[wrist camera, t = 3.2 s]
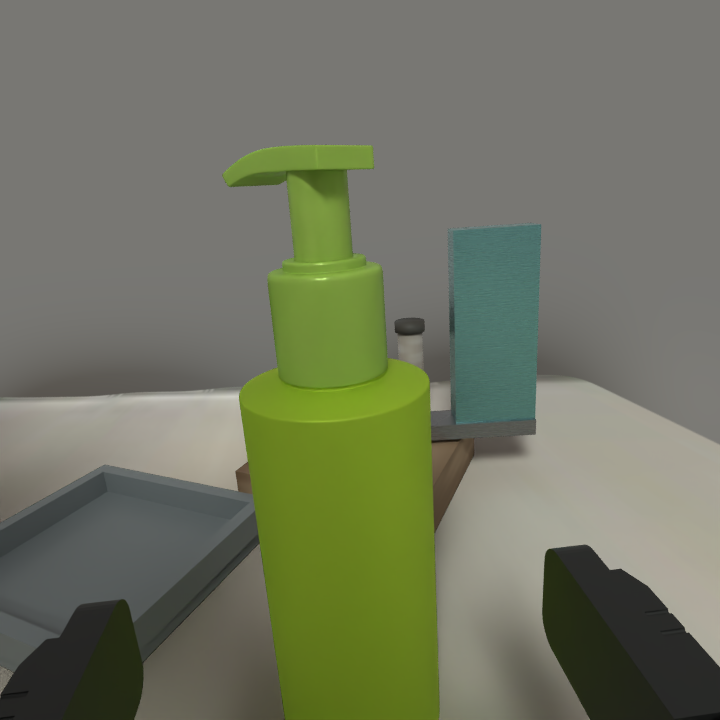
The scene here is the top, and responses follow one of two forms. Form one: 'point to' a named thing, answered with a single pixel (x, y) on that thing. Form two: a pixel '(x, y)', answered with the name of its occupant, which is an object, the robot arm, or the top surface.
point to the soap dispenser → (340, 465)
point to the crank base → (446, 454)
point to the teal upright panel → (492, 332)
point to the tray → (118, 554)
